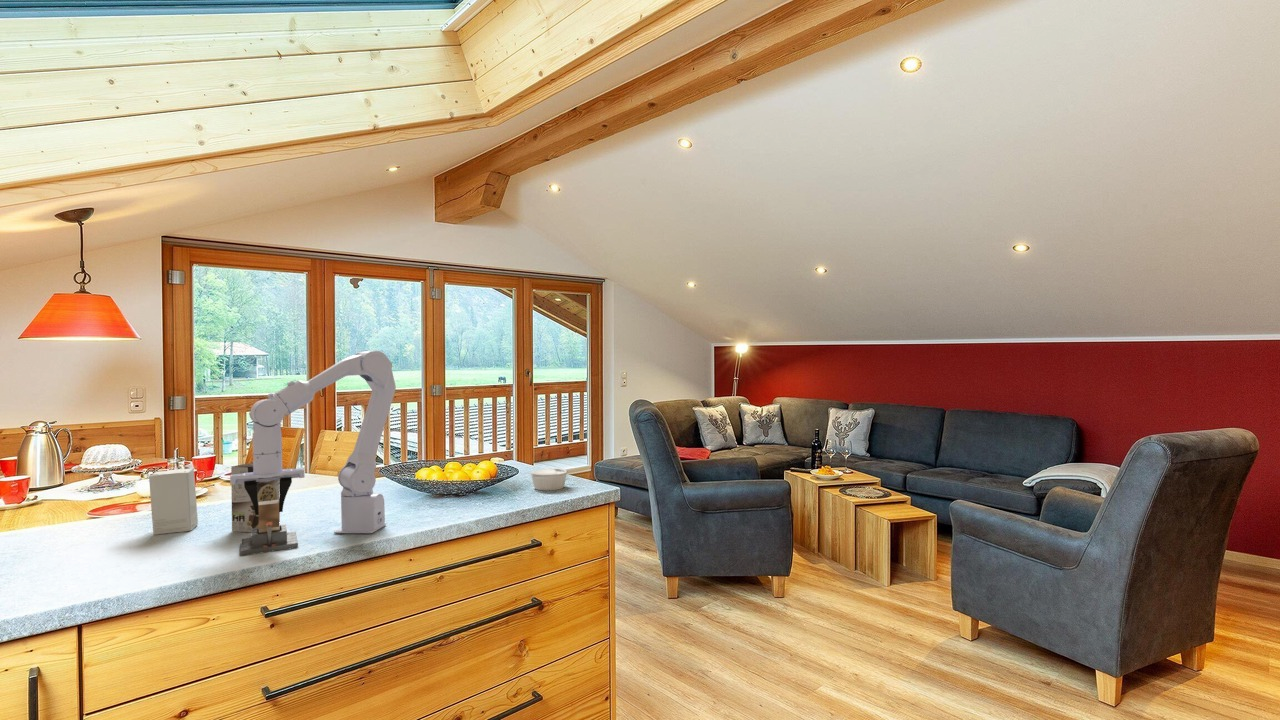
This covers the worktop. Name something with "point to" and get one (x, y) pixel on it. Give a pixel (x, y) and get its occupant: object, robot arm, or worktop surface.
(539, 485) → the ramekin
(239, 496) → the coffee box
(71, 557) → the worktop surface
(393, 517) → the worktop surface
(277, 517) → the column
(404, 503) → the worktop surface
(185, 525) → the skincare box
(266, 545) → the sleeve stand
